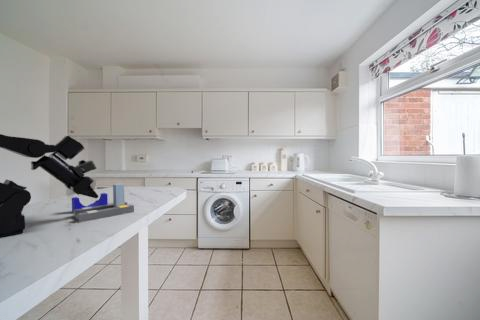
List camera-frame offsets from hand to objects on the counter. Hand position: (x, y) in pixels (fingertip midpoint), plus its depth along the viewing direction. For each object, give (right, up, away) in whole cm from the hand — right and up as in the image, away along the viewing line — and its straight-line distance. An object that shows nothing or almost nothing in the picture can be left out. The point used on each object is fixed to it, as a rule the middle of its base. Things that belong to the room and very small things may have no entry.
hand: (97, 197), depth 83 cm
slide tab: (+5, -5, +6) cm, 9 cm away
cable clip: (-9, -7, +9) cm, 15 cm away
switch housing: (+2, -7, +2) cm, 7 cm away
